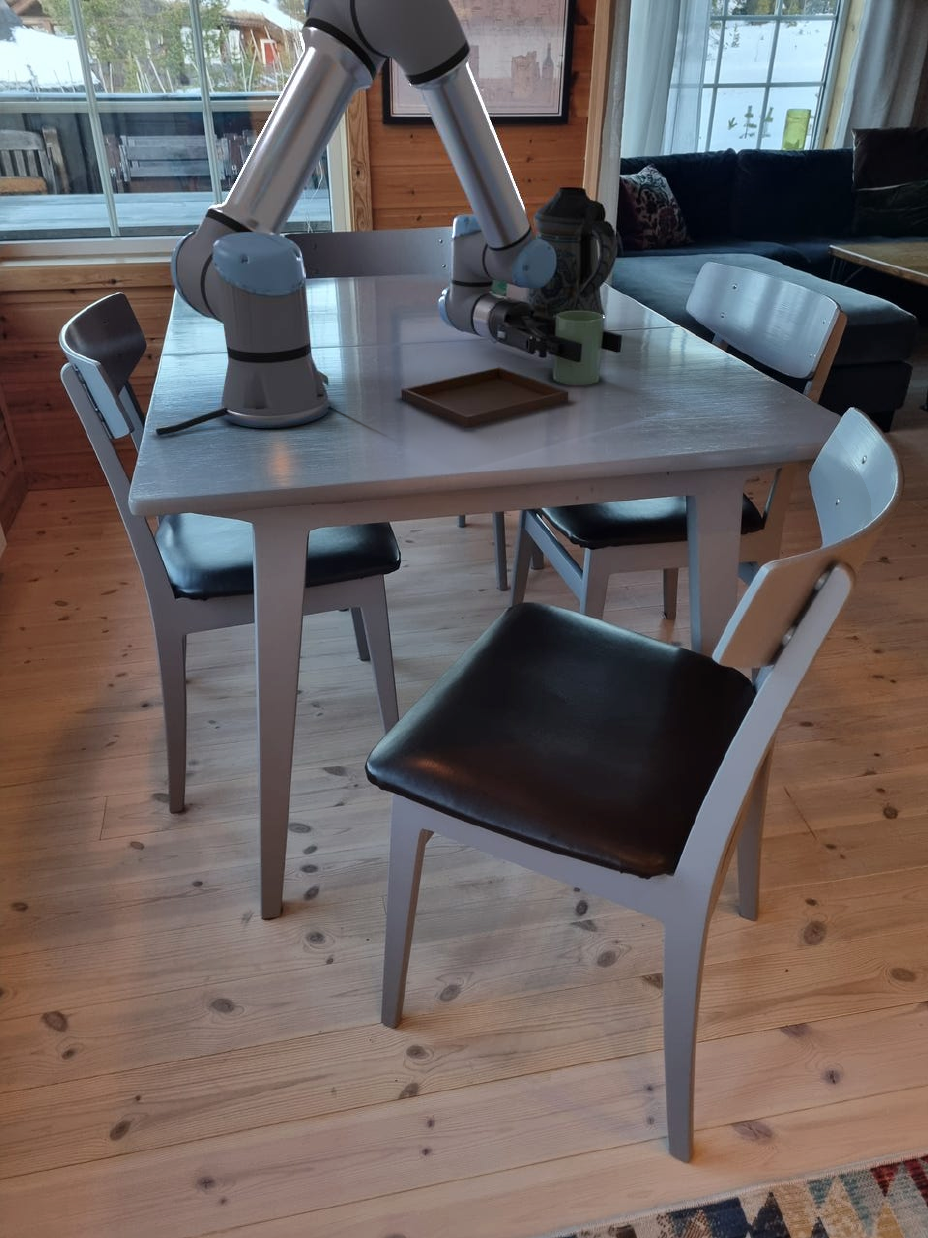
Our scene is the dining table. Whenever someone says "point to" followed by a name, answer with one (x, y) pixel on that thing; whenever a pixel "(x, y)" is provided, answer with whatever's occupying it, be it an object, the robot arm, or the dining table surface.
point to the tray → (484, 396)
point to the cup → (589, 334)
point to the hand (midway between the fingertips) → (599, 348)
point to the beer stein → (574, 253)
